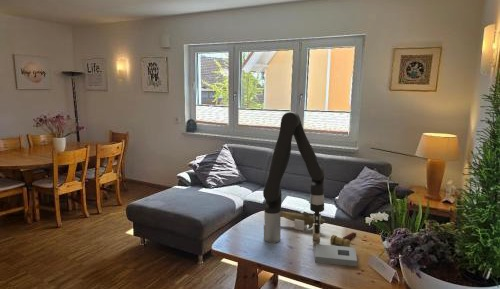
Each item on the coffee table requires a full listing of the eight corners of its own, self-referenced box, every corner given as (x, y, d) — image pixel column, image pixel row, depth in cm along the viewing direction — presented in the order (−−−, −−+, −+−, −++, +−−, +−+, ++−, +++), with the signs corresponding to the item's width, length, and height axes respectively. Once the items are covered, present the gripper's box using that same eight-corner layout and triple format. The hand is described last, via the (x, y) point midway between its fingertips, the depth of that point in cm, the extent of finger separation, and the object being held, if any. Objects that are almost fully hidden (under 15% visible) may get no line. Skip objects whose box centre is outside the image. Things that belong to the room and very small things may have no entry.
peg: (312, 246, 178) (312, 225, 176) (312, 242, 182) (312, 222, 180) (320, 247, 177) (320, 226, 175) (320, 243, 181) (320, 223, 179)
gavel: (348, 227, 196) (364, 231, 189) (347, 234, 196) (363, 239, 189) (330, 235, 181) (346, 241, 174) (329, 243, 181) (346, 249, 174)
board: (315, 262, 161) (315, 256, 161) (315, 249, 175) (316, 243, 174) (356, 266, 156) (357, 260, 156) (354, 252, 170) (354, 247, 169)
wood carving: (275, 219, 216) (275, 203, 214) (326, 229, 199) (327, 212, 197) (269, 224, 208) (269, 208, 206) (322, 235, 191) (323, 217, 190)
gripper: (310, 197, 183) (310, 224, 186) (309, 205, 169) (309, 235, 172) (324, 198, 181) (324, 225, 184) (324, 206, 168) (324, 235, 170)
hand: (317, 230), depth 178 cm, fingers open, 8 cm apart
